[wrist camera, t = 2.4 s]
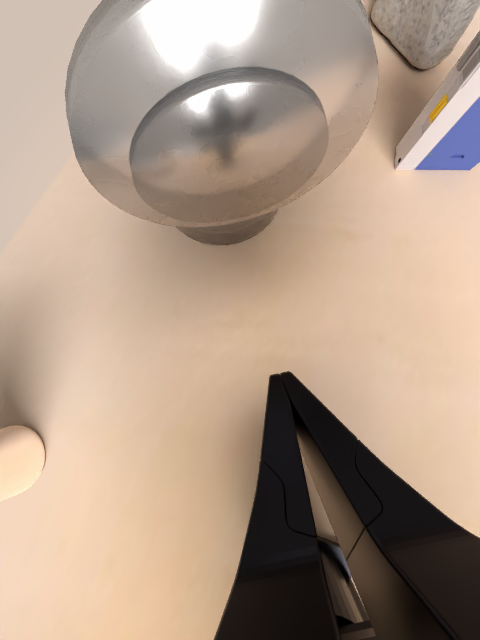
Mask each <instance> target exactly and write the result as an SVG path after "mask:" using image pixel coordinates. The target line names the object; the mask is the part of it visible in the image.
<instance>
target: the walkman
mask: <svg viewBox="0 0 480 640" xmlns="http://www.w3.org/2000/svg"><path fill="white" fill-rule="evenodd" d="M479 162H480V31H479V32H478V34H477V35H476V36H475V38H474V39H473V41H472V42H471V43H470V45H469V46H468V48H467V49H466V50H465V52H464V53H463V55H462V56H461V57H460V59H459V60H458V61H457V63H456V64H455V66H454V67H453V68H452V70H451V71H450V73H449V74H448V75H447V77H446V78H445V80H444V81H443V82H442V84H441V85H440V87H439V88H438V89H437V91H436V92H435V94H434V95H433V96H432V98H431V99H430V101H429V102H428V103H427V105H426V106H425V108H424V109H423V110H422V112H421V113H420V115H419V116H418V117H417V119H416V120H415V122H414V123H413V124H412V126H411V127H410V128H409V130H408V131H407V133H406V134H405V135H404V137H403V138H402V140H401V141H400V142H399V144H398V145H397V147H396V157H395V170H470V169H472V168H473V167H474V166H475V165H476V164H478V163H479Z"/></svg>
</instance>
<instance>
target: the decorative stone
mask: <svg viewBox="0 0 480 640" xmlns="http://www.w3.org/2000/svg"><path fill="white" fill-rule="evenodd" d="M479 6H480V0H376V1H375V3H374V6H373V8H372V12H371V19H372V22H373V23H374V24H375V25H376V27H377V28H378V29H379V30H380V31H381V32H382V33H383V34H384V35H385V36H386V37H387V38H388V39H389V40H390V41H391V43H392V45H394V47H395V48H396V49H397V50H398V51H399V52H400V53H401V54H402V55H403V56H404V57H405V58H406V59H407V60H408V61H409V62H410V64H412V65H413V66H414V67H417V68H419V69H430V68H432V67H434V66H435V65H437V64H440V63H441V62H442V61H443V60H444V59H445V58H446V57H447V56H449V54H450V53H451V52H452V50H453V48H454V47H455V45H456V43H457V42H458V40H459V39H460V37H461V36H462V35H463V33H464V31H465V30H466V28H467V27H468V25H469V24H470V22H471V20H472V18H473V17H474V15H475V13H476V11H477V9H478V8H479Z"/></svg>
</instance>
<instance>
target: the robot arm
mask: <svg viewBox="0 0 480 640" xmlns="http://www.w3.org/2000/svg"><path fill="white" fill-rule="evenodd" d="M299 446H300V448H299ZM300 449H301V451H302V454H303V456H304V458H305V461H306V463H307V466H308V468H309V471H310V473H311V476H312V478H313V481H314V483H315V486H316V488H317V491H318V493H319V496H320V498H321V501H322V503H323V506H324V508H325V511H326V513H327V516H328V518H329V521H330V523H331V526H332V528H333V530H334V533H335V535H336V538H337V540H338V543H339V544H337V543H334V542H332V541H329V540H326V539H324V538H321V537H318V536H317V533H316V528H315V523H314V518H313V513H312V508H311V503H310V498H309V493H308V488H307V483H306V478H305V473H304V468H303V463H302V458H301V453H300ZM260 459H261V460H260V464H259V473H258V480H257V487H256V492H255V497H254V502H253V507H252V511H251V516H250V520H249V524H248V528H247V533H246V537H245V541H244V546H243V550H242V554H241V558H240V562H239V566H238V570H237V573H236V577H235V580H234V583H233V586H232V589H231V592H230V595H229V598H228V601H227V604H226V607H225V609H224V612H223V615H222V618H221V621H220V624H219V626H218V629H217V632H216V635H215V638H214V640H480V538H479V537H477V536H475V535H474V534H472V533H470V532H469V531H467V530H466V529H464V528H463V527H461V526H460V525H458V524H457V523H455V522H454V521H453V520H451V519H450V518H449V517H447V516H446V515H445V514H444V513H442V512H441V511H440V510H439V509H437V508H436V507H435V506H434V505H433V504H431V503H430V502H429V501H428V500H427V499H425V498H424V497H423V496H422V495H421V494H419V493H418V492H417V491H416V490H415V489H413V488H412V487H411V486H410V485H409V484H407V483H406V482H405V481H404V480H403V479H401V478H400V477H399V476H398V475H397V474H395V473H394V472H393V471H392V470H391V469H390V468H388V467H387V466H386V465H385V464H384V463H383V462H382V461H381V460H379V459H378V458H377V457H376V456H375V455H374V454H373V453H372V452H371V451H370V450H369V449H368V448H367V447H366V446H365V445H364V444H363V443H362V442H361V441H360V440H357V437H356V436H355V435H354V434H353V433H352V432H351V431H350V430H349V429H348V428H347V427H346V426H345V425H344V424H343V423H342V422H341V421H340V420H339V419H338V418H337V417H336V416H335V415H334V414H333V413H332V412H331V411H330V410H329V409H328V408H327V407H326V406H324V405H323V404H322V403H321V402H320V401H319V400H318V399H317V398H316V397H315V396H314V395H313V394H312V393H311V392H310V391H309V390H308V389H307V388H306V387H305V386H304V385H303V384H302V383H301V382H300V381H299V380H298V379H297V378H296V377H295V376H294V375H293V374H292V373H291V372H289V371H288V372H283V373H280V374H273V375H270V377H269V385H268V394H267V403H266V412H265V421H264V430H263V439H262V447H261V456H260ZM351 575H352V578H353V580H354V583H355V585H356V588H357V590H358V593H359V595H360V598H361V600H362V602H361V600H360V598H359V595H358V593H357V591H356V589H355V587H354V585H353V583H352V581H351ZM362 603H363V604H362ZM363 605H364V606H363ZM364 607H365V608H364Z"/></svg>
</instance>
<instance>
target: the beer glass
mask: <svg viewBox="0 0 480 640" xmlns="http://www.w3.org/2000/svg"><path fill="white" fill-rule="evenodd" d="M44 462H45V449H44V445H43V442H42V440H41V438H40V437H39V436H38V434H37V433H36V432H35V431H33V430H32V429H30V428H28V427H25V426H21V425H13V426H8V427H5V428H2V429H0V501H3V500H5V499H8V498H11V497H13V496H16V495H18V494H20V493H22V492H24V491H26V490H27V489H28V488H30V487H31V486H32V485H33V484H34V483H35V482H36V480H37V479H38V478H39V476H40V474H41V472H42V469H43V466H44Z"/></svg>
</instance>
